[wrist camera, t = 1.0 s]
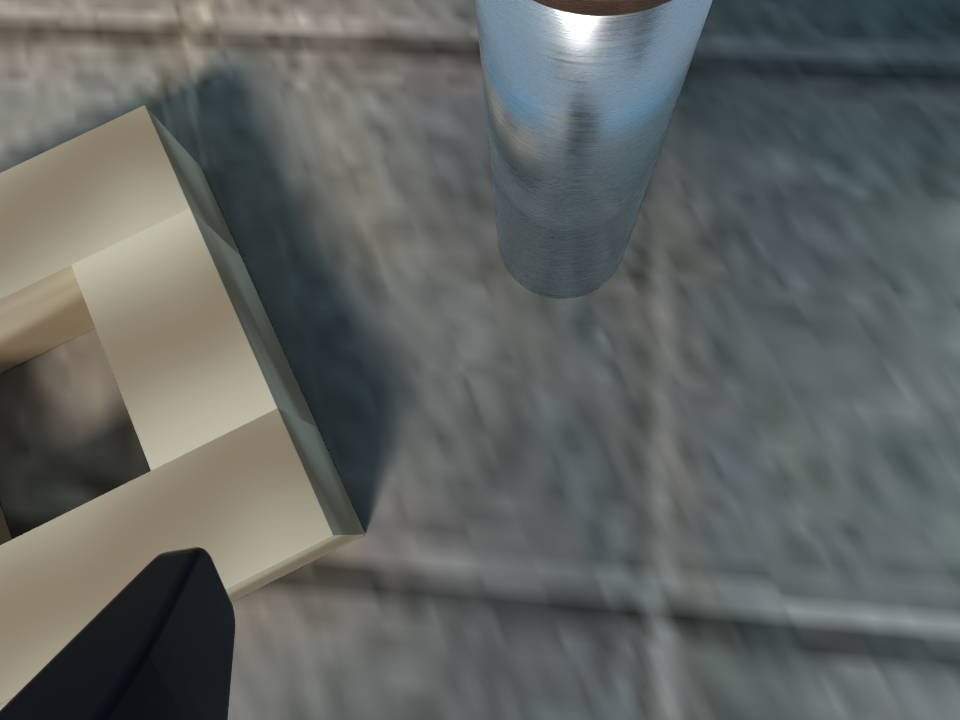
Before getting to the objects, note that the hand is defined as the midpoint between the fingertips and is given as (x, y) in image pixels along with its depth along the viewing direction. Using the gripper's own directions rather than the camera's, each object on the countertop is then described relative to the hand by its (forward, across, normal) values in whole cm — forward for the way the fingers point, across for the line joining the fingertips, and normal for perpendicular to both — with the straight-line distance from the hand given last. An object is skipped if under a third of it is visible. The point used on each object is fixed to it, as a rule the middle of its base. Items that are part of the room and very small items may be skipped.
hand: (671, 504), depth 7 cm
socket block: (+13, +13, +6) cm, 19 cm away
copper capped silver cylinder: (+15, -1, +3) cm, 15 cm away
